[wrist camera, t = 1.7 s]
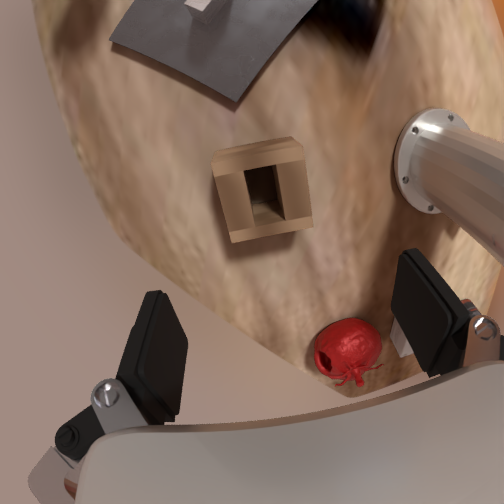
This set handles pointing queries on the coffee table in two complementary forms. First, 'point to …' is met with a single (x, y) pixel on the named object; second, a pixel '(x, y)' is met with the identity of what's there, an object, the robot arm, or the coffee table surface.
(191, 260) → the coffee table surface
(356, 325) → the pomegranate
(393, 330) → the small box
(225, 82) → the post stand
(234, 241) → the slotted wooden cube
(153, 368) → the robot arm
